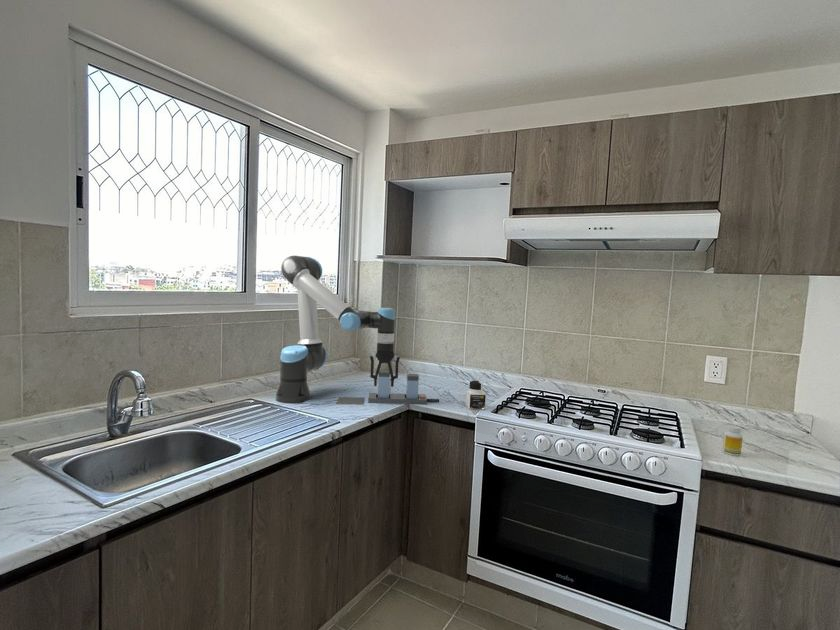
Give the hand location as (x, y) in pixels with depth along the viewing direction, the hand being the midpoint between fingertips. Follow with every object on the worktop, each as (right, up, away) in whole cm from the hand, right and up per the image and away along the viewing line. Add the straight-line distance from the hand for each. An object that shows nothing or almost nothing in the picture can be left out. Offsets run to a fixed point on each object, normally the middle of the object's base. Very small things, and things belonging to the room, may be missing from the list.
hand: (383, 393), depth 202 cm
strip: (+9, -5, +1) cm, 10 cm away
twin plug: (+13, -4, +1) cm, 13 cm away
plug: (0, -2, 0) cm, 2 cm away
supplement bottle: (+127, -14, -45) cm, 135 cm away
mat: (-15, -4, -1) cm, 15 cm away
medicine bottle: (+41, -6, -1) cm, 42 cm away
